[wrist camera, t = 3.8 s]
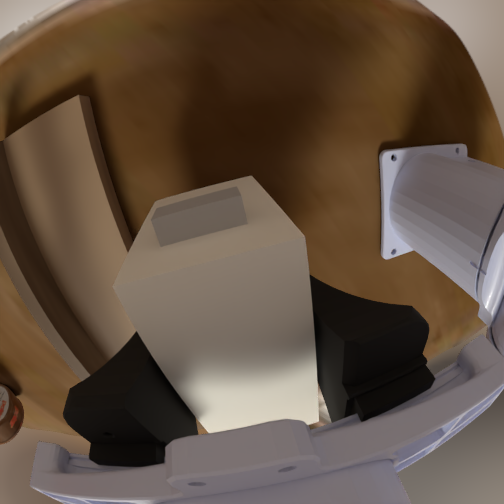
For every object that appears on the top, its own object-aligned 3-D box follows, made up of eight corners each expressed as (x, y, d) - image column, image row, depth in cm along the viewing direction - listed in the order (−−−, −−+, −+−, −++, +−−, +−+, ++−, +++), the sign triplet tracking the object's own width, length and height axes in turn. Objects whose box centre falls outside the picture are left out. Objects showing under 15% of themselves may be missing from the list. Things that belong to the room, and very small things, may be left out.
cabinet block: (248, 158, 12) (300, 202, 6) (281, 323, 16) (318, 421, 10) (150, 184, 12) (98, 257, 5) (209, 342, 16) (219, 445, 10)
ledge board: (89, 96, 11) (56, 91, 8) (198, 375, 22) (200, 414, 18) (4, 145, 11) (-34, 157, 7) (127, 386, 21) (122, 422, 18)
